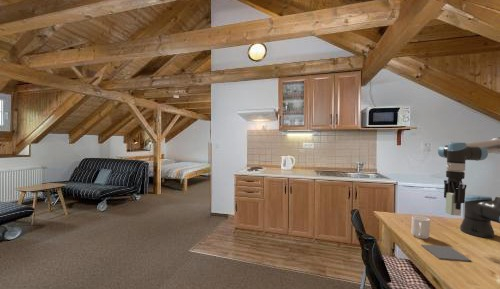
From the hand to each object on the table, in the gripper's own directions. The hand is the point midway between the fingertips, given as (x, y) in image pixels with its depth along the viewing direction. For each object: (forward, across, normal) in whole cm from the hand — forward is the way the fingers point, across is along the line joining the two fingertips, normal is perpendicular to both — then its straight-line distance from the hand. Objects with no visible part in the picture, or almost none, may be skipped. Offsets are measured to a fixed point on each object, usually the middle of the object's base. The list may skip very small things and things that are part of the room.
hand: (452, 213), depth 126 cm
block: (0, 0, 0) cm, 0 cm away
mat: (+17, +12, -10) cm, 23 cm away
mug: (+17, -7, -12) cm, 22 cm away
